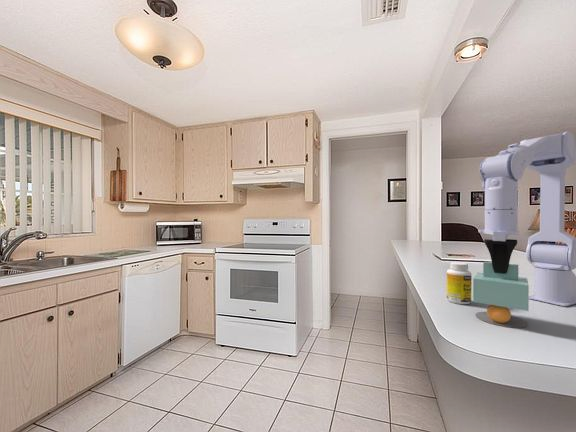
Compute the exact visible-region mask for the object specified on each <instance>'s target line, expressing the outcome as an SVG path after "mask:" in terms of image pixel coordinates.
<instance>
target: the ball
mask: <svg viewBox="0 0 576 432" xmlns="http://www.w3.org/2000/svg"><path fill="white" fill-rule="evenodd" d="M486 312H487V314H488V316H489V318H490V319H491V320H493V321H494V322H497V323H506V322H508V321H509V320H510V318H511V316H512V312H511V310H510V308H508V307H502V306H496V305H490V304H489V306H488V307H487V310H486Z"/></svg>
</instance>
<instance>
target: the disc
mask: <svg viewBox="0 0 576 432" xmlns="http://www.w3.org/2000/svg"><path fill="white" fill-rule="evenodd" d="M475 317H476V318H477V319H478V320H480V321H482V322H485V323H488V324H490V325H495V326H498V327H505V328H510V329H511V328H512V329H513V328H515V329H523V328H527V327H528V325H529V323H528V322H527V321H526V320H524V319H522V318H520V317H517V316H514V315H511V318H510V320H509V321H508V322H506V323H497V322H494V321H493V320H491V319H490V318H489V316H488V314H487V311H478V312H476V313H475Z"/></svg>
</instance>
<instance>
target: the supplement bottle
mask: <svg viewBox="0 0 576 432" xmlns="http://www.w3.org/2000/svg"><path fill="white" fill-rule="evenodd" d="M449 265H450V266H449V267H450V269H447V271H446V300H447V301H449V302H450V303H453V304H458V305H469V304H471V303H472V282H473V278H472V276H473V275H472V272H471V271H470V270H469V264H468V263H466V262H458V261H452V262H450V264H449Z"/></svg>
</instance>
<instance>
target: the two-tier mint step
mask: <svg viewBox="0 0 576 432" xmlns="http://www.w3.org/2000/svg"><path fill="white" fill-rule="evenodd" d="M482 267H483V270H482V271H483V272H477V273H476V274H475V276H474V277H473V278H472V282H473V283H472V284H473V285H472V288H473V293H472V295H473V296H472V299H473V300H472V302H473V303H478V304H484V305H489V306H490V305H496V306H502V307H507V308H508V309H514V310H521V311H526V312H529V300H530V299H529V296H530V295H529V291H530V288H529V280H528V277H525V276H524V277H523V276H519V264H515V263H509V267H508V271H507V273H506V274H502V273H494V270H493V266H492V261H491V262H490V261H483V266H482Z"/></svg>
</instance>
